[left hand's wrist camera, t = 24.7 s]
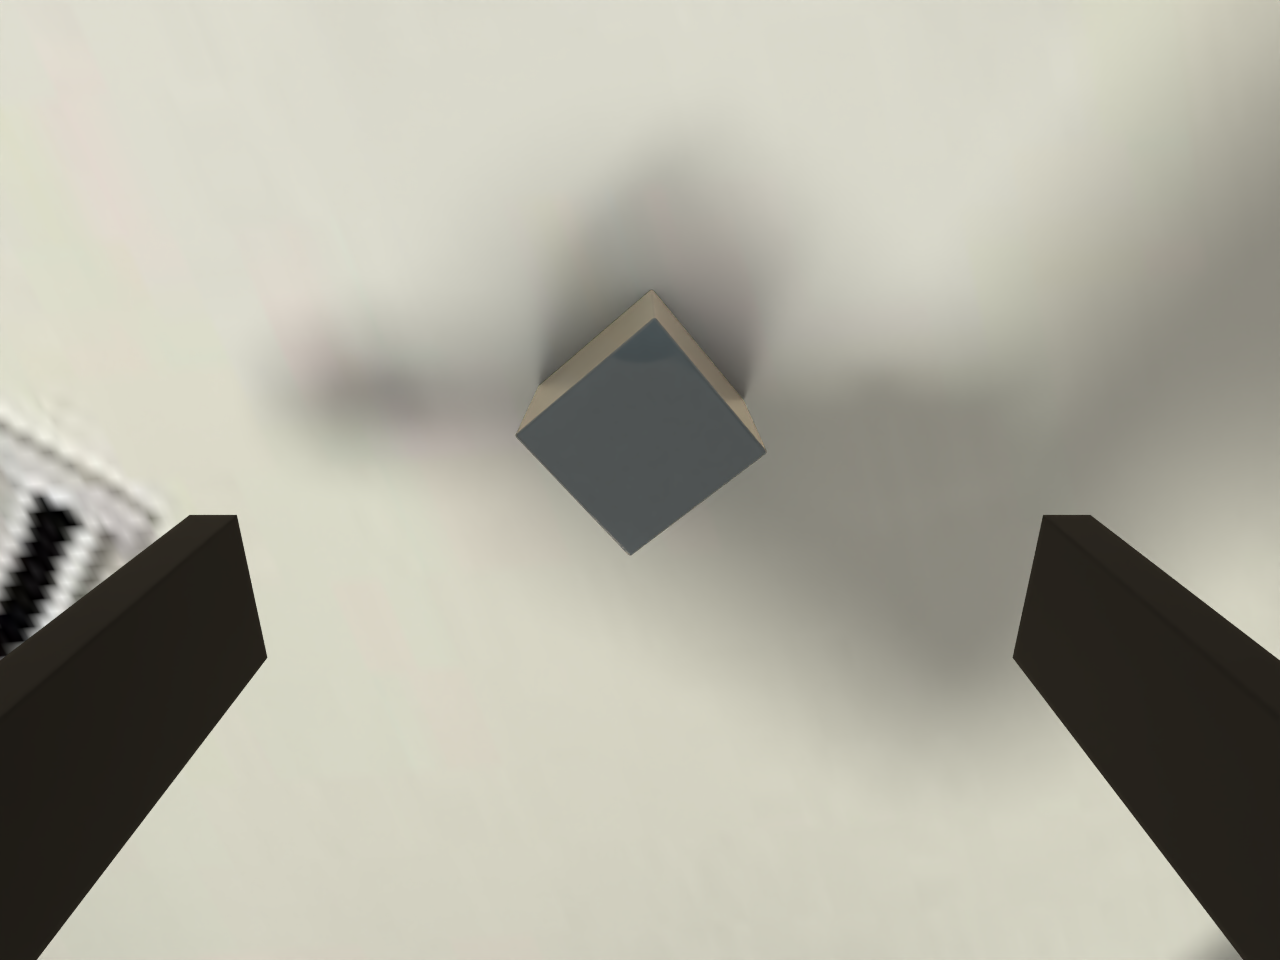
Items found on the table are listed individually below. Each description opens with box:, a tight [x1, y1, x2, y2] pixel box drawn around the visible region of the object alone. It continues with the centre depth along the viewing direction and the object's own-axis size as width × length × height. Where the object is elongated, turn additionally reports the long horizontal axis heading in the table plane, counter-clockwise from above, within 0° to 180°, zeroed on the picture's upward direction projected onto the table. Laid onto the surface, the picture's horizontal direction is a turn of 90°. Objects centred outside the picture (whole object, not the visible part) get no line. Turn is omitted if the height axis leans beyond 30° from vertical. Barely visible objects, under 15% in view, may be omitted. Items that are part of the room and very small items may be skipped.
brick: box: [516, 290, 766, 555], centre depth 21 cm, size 4×4×5 cm
